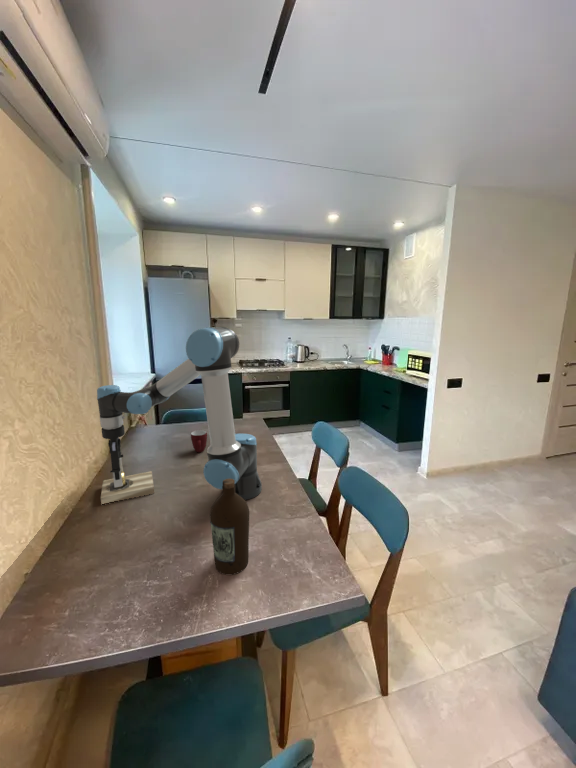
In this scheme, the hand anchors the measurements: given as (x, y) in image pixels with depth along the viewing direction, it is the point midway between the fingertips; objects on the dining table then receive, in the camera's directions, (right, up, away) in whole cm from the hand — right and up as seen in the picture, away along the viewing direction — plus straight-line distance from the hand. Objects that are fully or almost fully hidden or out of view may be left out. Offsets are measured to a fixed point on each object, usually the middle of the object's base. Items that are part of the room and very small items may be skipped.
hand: (119, 479), depth 123 cm
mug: (+21, +2, +39) cm, 44 cm away
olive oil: (+51, -13, -34) cm, 62 cm away
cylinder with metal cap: (0, -5, +1) cm, 5 cm away
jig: (+3, -5, +2) cm, 6 cm away
